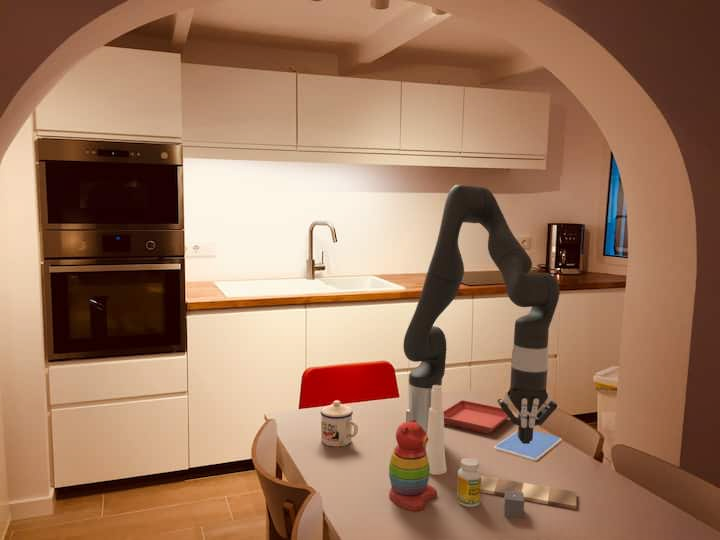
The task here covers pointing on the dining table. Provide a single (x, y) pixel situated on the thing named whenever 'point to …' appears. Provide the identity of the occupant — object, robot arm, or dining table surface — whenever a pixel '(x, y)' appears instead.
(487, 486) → the track
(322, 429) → the teacup with lid
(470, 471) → the supplement bottle
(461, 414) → the plant saucer
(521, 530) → the dining table surface
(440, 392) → the cosmetic bottle
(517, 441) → the blue flat rectangular panel
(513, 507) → the die
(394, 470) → the stacking bear
